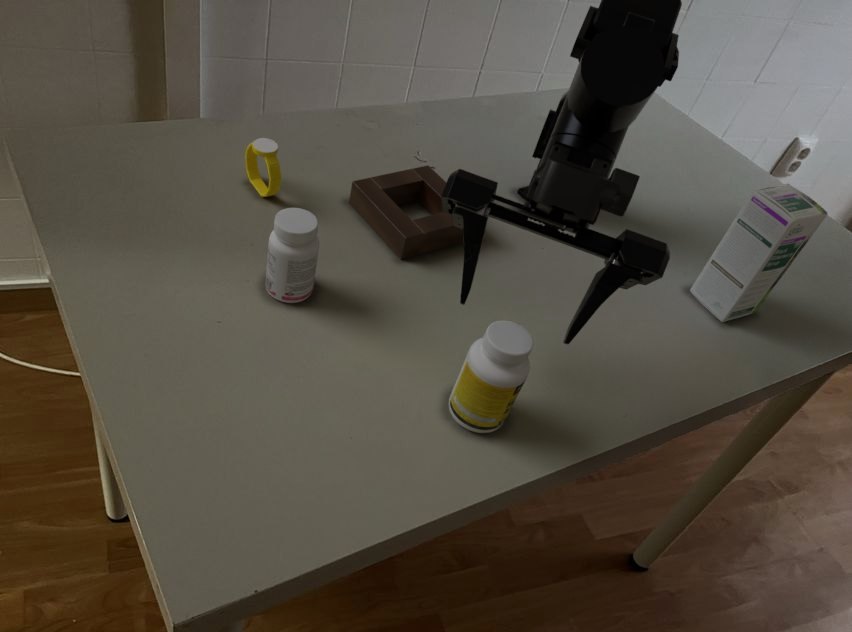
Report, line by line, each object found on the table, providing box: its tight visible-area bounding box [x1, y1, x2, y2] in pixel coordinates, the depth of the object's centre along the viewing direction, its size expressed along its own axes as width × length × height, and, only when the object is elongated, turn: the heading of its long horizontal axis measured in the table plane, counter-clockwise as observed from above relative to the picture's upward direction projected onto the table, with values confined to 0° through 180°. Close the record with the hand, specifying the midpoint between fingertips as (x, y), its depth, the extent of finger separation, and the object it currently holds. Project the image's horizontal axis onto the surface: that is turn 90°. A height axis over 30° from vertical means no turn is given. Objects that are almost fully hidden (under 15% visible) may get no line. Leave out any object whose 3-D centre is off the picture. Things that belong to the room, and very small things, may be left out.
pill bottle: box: [265, 207, 320, 304], centre depth 68 cm, size 5×5×8 cm
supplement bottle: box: [448, 319, 534, 434], centre depth 61 cm, size 5×5×10 cm
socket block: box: [348, 165, 463, 261], centre depth 82 cm, size 11×11×3 cm
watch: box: [244, 137, 282, 198], centre depth 80 cm, size 6×3×6 cm, turn 35°
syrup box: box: [689, 183, 828, 323], centre depth 78 cm, size 6×6×14 cm
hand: (513, 323), depth 59 cm, fingers open, 9 cm apart
